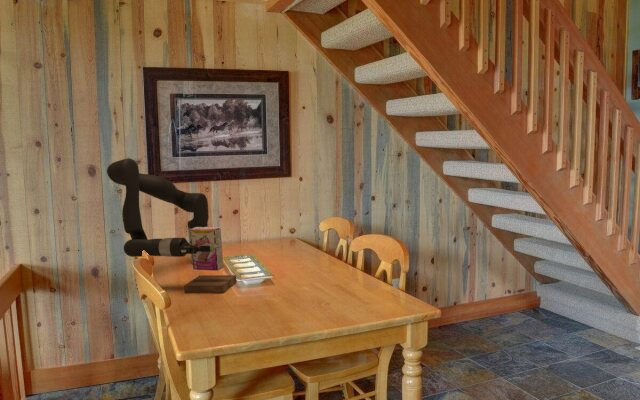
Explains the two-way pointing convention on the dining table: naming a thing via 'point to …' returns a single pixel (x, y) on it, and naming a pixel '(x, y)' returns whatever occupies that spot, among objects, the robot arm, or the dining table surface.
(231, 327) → the dining table surface
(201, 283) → the walnut base
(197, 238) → the candy bar box
